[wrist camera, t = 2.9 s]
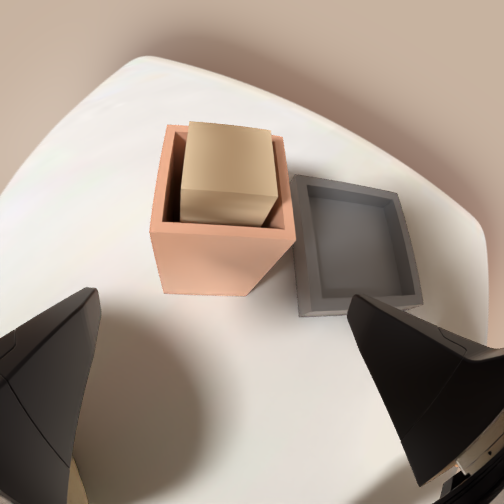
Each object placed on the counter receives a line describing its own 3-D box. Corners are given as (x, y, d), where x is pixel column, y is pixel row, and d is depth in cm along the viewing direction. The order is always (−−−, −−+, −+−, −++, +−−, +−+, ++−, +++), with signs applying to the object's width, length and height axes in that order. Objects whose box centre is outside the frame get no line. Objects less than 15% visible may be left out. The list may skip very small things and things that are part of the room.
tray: (384, 204, 31) (397, 193, 29) (407, 309, 26) (423, 304, 24) (286, 189, 28) (295, 174, 26) (299, 317, 23) (311, 311, 21)
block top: (252, 176, 17) (270, 130, 13) (255, 236, 15) (278, 196, 12) (185, 170, 16) (189, 121, 12) (179, 232, 15) (181, 188, 11)
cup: (243, 223, 25) (282, 136, 15) (245, 296, 23) (296, 240, 13) (169, 219, 24) (167, 124, 14) (163, 293, 21) (149, 231, 12)
